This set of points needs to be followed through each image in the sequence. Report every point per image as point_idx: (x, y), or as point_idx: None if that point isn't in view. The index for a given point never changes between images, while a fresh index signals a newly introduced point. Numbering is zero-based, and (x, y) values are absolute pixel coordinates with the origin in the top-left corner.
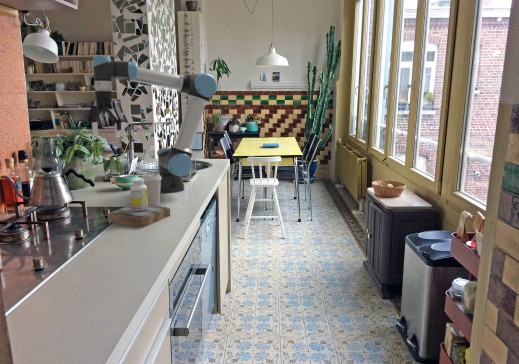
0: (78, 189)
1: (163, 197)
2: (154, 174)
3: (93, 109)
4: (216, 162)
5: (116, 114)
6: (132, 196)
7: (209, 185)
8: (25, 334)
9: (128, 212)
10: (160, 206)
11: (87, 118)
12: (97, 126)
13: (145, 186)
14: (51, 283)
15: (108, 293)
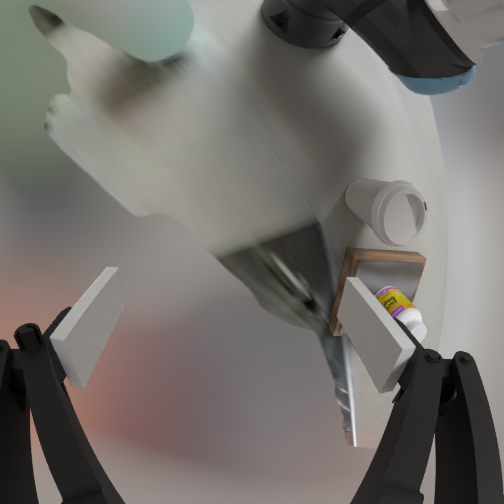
0: (49, 123)
1: (341, 101)
2: (406, 193)
3: (27, 495)
4: None
5: (439, 450)
6: None
7: None
8: (375, 446)
9: None
10: (412, 265)
11: (11, 394)
12: (85, 315)
13: (421, 321)
14: (360, 430)
15: None
